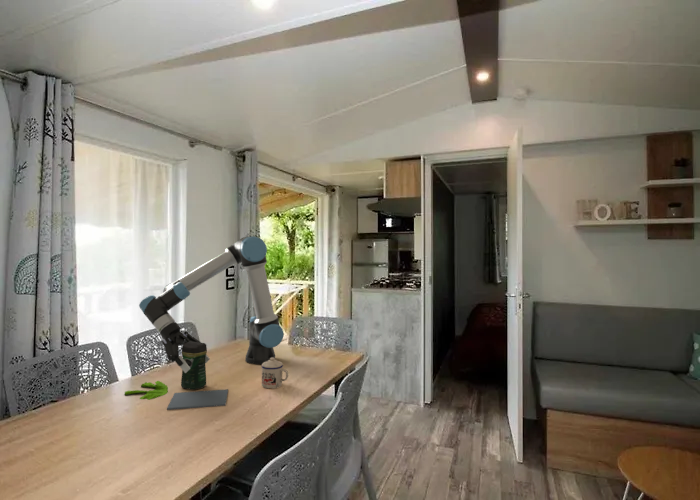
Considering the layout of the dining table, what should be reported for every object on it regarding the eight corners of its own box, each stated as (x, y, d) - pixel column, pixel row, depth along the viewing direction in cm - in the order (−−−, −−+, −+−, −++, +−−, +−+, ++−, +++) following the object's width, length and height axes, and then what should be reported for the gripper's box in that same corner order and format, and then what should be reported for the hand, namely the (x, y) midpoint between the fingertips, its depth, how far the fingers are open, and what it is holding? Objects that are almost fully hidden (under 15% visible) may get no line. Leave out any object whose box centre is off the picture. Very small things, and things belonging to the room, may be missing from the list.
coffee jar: (209, 385, 163) (210, 341, 163) (195, 391, 155) (196, 345, 155) (191, 381, 166) (192, 338, 166) (177, 388, 159) (178, 342, 159)
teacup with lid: (256, 387, 161) (257, 359, 161) (267, 380, 170) (268, 354, 170) (283, 391, 158) (283, 362, 158) (292, 383, 167) (293, 356, 167)
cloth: (152, 404, 144) (152, 397, 144) (102, 398, 148) (102, 391, 148) (185, 385, 164) (186, 379, 164) (141, 380, 168) (141, 375, 168)
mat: (227, 390, 157) (227, 389, 157) (225, 405, 142) (225, 403, 142) (174, 394, 152) (174, 392, 152) (166, 409, 137) (166, 408, 137)
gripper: (180, 327, 176) (209, 363, 173) (139, 339, 152) (172, 381, 149) (191, 316, 175) (220, 352, 172) (151, 327, 151) (184, 368, 147)
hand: (198, 365), depth 160 cm, fingers open, 13 cm apart
